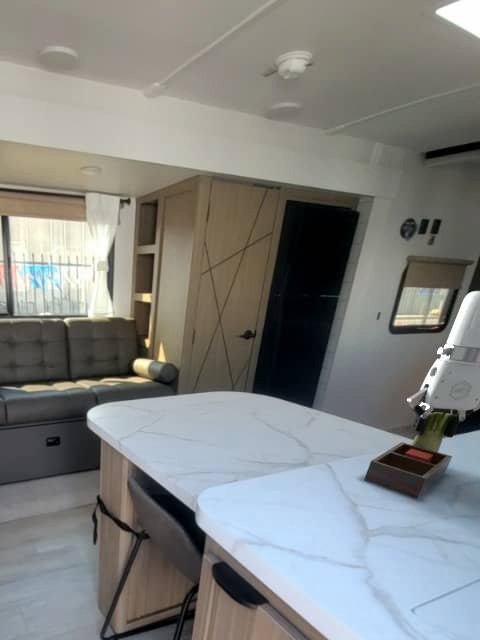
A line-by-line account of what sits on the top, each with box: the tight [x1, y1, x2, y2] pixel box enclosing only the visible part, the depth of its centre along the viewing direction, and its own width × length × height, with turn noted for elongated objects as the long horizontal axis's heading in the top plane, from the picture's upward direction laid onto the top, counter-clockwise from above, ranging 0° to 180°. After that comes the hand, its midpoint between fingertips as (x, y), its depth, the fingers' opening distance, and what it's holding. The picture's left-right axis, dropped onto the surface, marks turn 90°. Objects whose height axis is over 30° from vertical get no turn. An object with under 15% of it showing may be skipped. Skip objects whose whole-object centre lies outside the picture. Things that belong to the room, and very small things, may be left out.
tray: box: [363, 441, 453, 500], centre depth 87 cm, size 18×10×4 cm, turn 129°
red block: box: [405, 449, 433, 463], centre depth 89 cm, size 4×4×4 cm
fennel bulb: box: [411, 411, 452, 452], centre depth 93 cm, size 6×5×12 cm
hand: (431, 433), depth 93 cm, fingers closed on fennel bulb, 5 cm apart
